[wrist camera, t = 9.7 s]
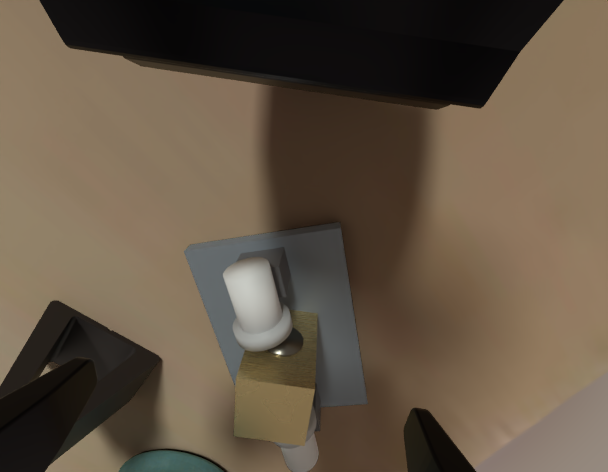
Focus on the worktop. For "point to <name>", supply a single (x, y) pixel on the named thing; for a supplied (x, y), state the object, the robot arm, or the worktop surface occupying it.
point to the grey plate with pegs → (285, 310)
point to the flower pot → (168, 463)
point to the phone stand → (89, 344)
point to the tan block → (278, 386)
